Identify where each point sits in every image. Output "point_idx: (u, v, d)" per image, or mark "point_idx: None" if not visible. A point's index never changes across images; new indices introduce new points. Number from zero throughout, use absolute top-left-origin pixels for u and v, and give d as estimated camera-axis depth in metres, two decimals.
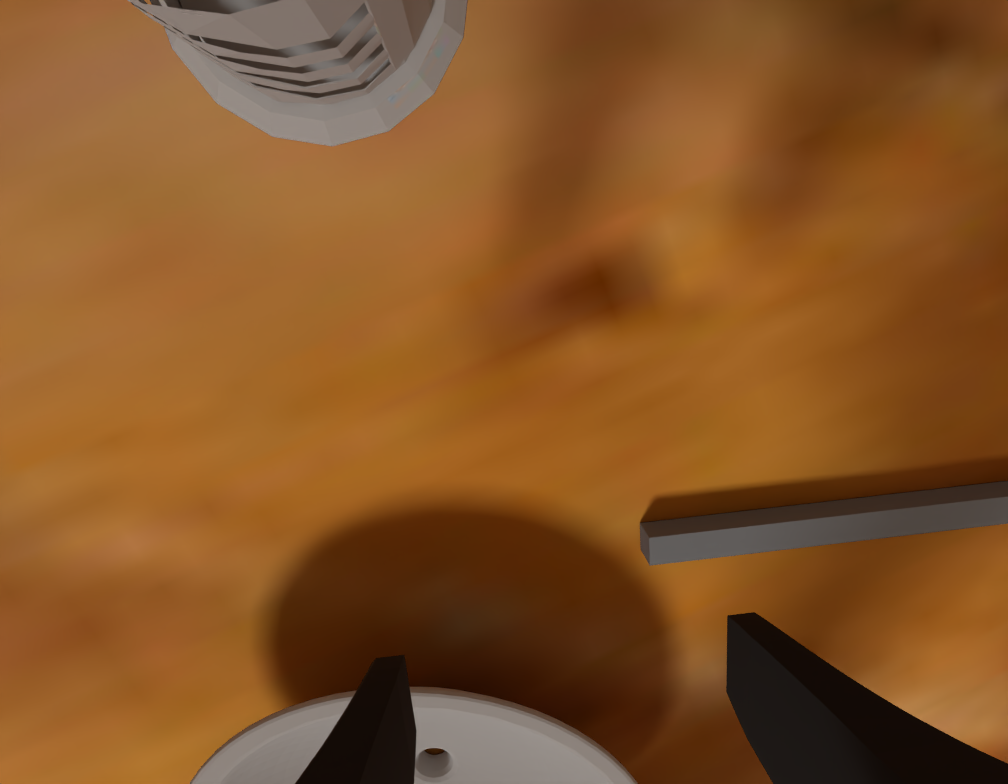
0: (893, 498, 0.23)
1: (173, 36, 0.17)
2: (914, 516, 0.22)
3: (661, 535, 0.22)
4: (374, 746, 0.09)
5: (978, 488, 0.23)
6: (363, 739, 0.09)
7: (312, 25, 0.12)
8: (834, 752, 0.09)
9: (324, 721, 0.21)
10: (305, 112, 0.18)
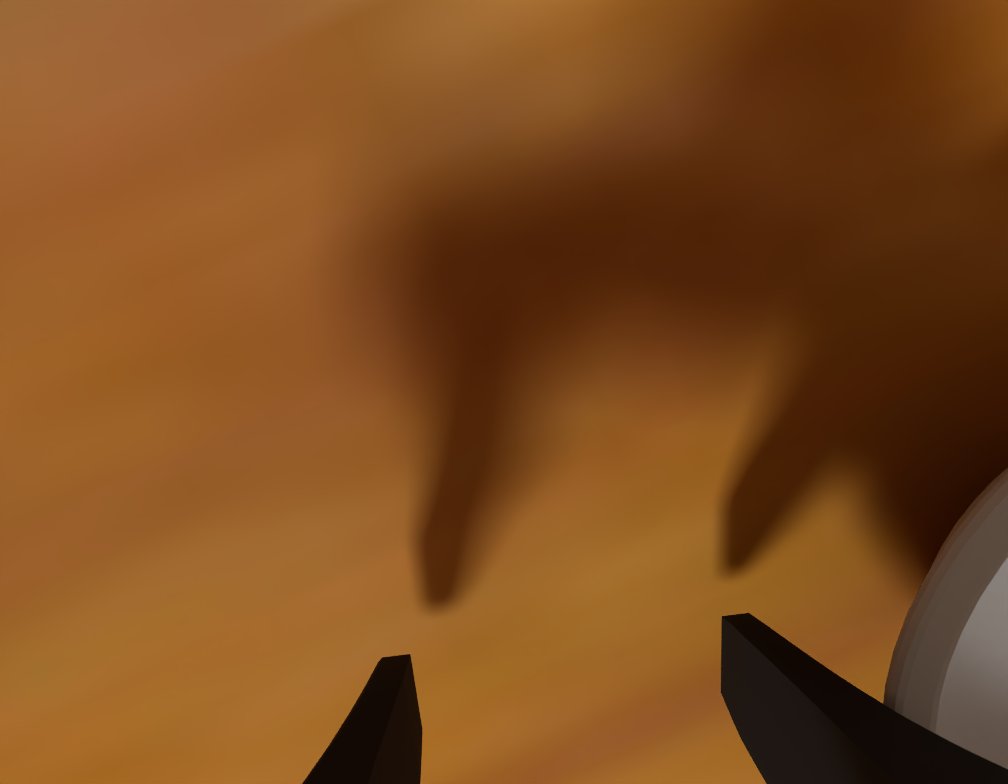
0: None
1: None
2: None
3: None
4: (382, 745, 0.09)
5: None
6: (371, 738, 0.09)
7: None
8: (826, 753, 0.09)
9: None
10: None
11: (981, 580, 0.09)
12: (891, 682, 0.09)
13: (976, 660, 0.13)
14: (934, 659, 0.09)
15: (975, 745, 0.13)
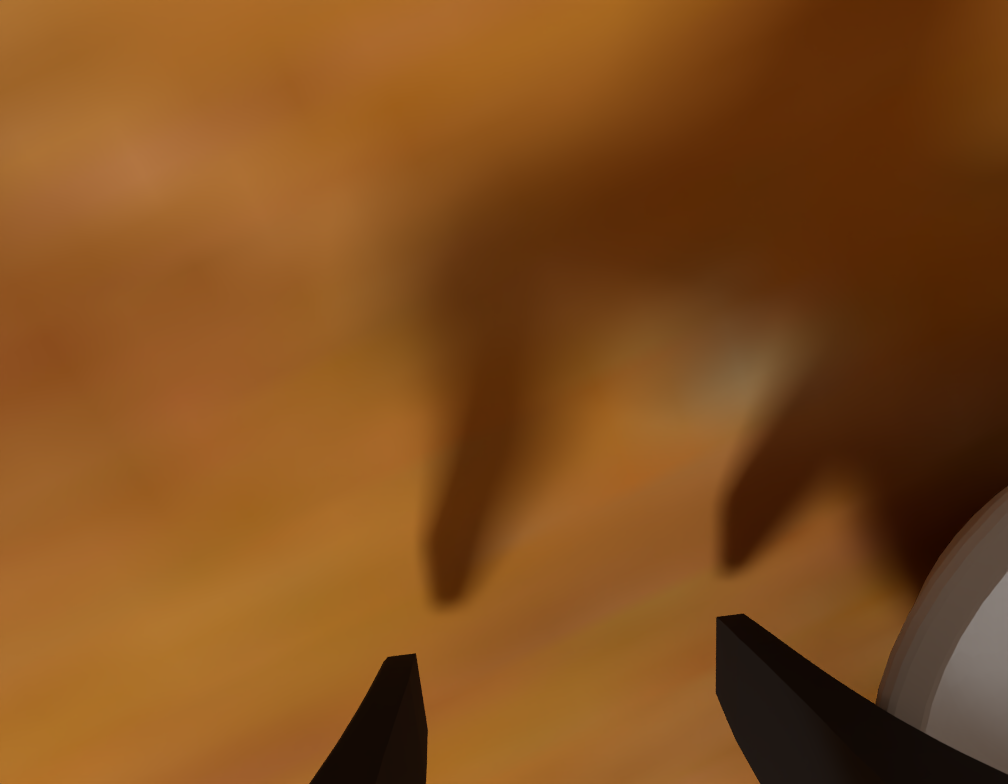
0: None
1: None
2: None
3: None
4: (389, 744, 0.09)
5: None
6: (378, 737, 0.09)
7: None
8: (818, 754, 0.09)
9: None
10: None
11: (985, 586, 0.09)
12: (886, 684, 0.09)
13: (958, 677, 0.13)
14: (930, 662, 0.09)
15: None
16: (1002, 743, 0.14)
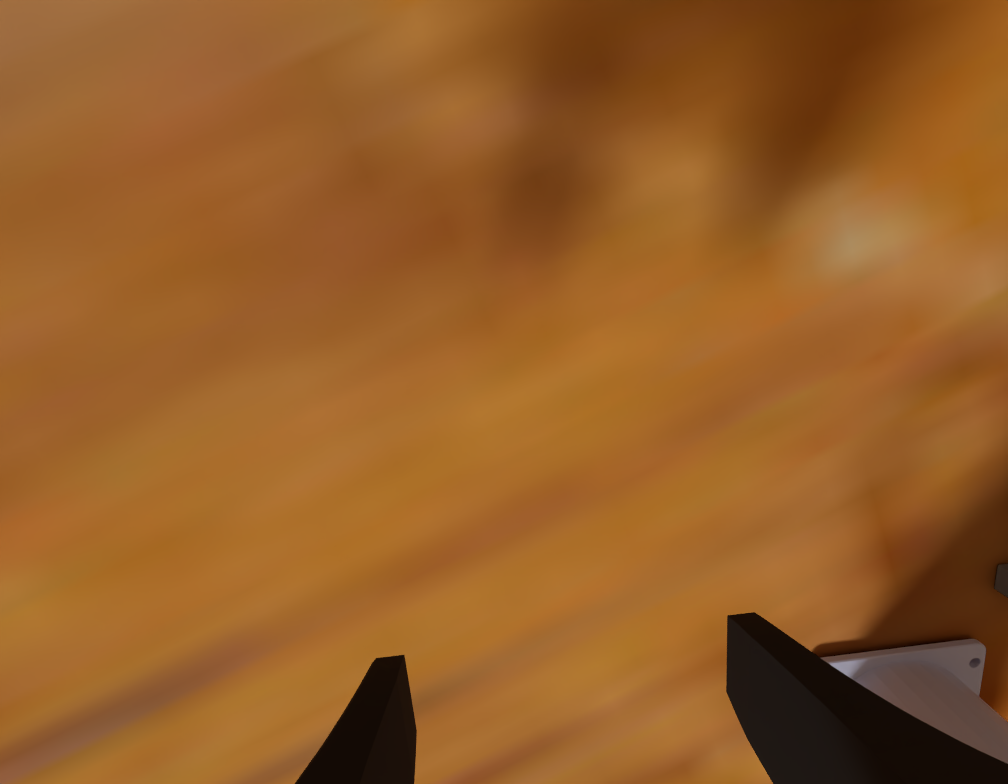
0: None
1: None
2: None
3: None
4: (374, 746, 0.09)
5: None
6: (363, 739, 0.09)
7: None
8: (834, 752, 0.09)
9: None
10: None
11: None
12: None
13: None
14: None
15: None
16: None
